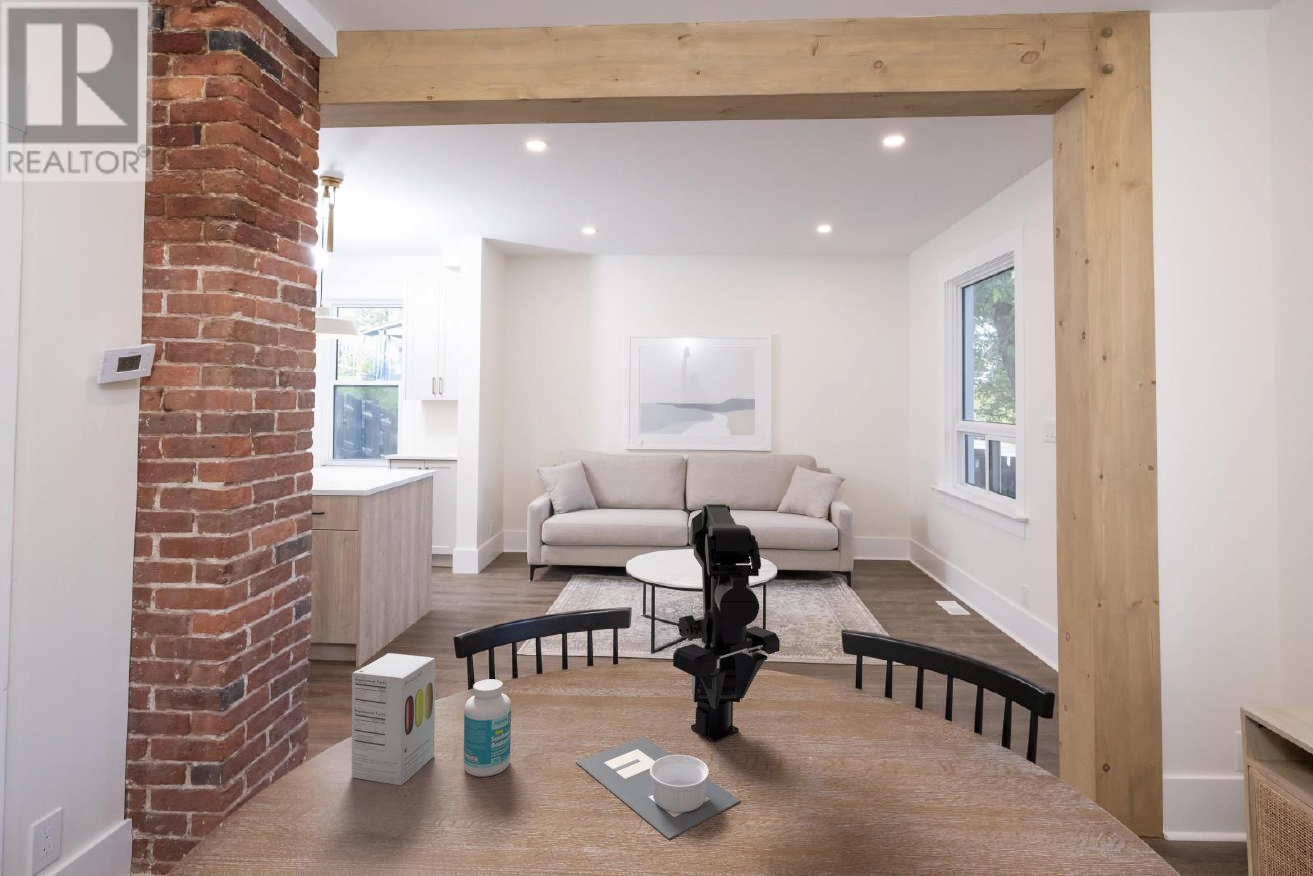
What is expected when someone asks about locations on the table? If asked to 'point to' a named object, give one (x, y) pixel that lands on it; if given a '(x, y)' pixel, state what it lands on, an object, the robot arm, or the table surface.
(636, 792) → the slate mat
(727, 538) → the robot arm
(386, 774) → the supplement box
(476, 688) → the pill bottle
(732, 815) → the table surface
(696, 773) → the ramekin
